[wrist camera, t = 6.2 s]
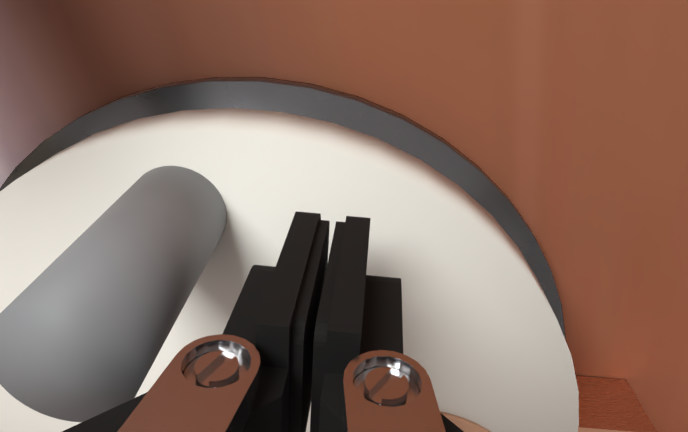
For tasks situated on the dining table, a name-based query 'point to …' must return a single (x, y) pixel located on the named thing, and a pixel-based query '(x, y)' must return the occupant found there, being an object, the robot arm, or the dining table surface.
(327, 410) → the robot arm
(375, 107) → the turntable base
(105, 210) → the disc
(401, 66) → the dining table surface
